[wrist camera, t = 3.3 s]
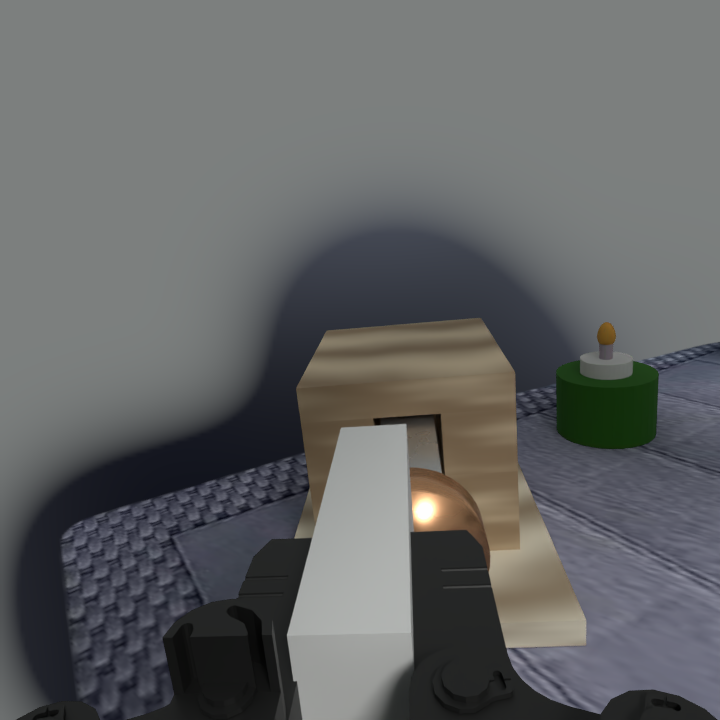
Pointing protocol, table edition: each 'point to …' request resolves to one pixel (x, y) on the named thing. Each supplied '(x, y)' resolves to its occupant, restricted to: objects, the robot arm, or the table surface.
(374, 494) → the robot arm
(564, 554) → the table surface
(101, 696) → the table surface
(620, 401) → the candle
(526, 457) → the table surface
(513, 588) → the press block
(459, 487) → the door knob
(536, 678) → the table surface
